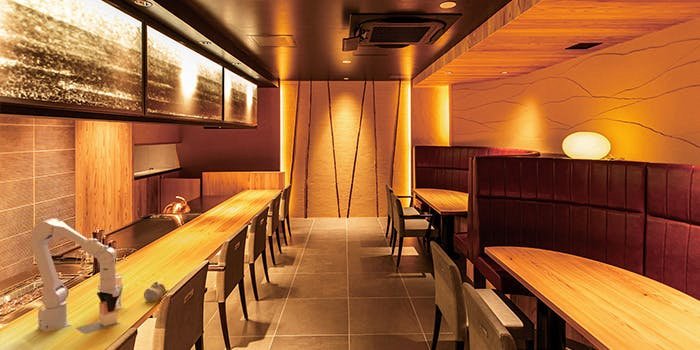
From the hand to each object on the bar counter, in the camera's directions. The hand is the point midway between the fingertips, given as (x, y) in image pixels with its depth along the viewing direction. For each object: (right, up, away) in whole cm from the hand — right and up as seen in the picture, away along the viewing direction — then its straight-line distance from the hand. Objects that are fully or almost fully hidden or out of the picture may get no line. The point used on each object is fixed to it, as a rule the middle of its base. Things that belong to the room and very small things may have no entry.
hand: (108, 309), depth 193 cm
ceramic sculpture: (+7, -4, +33) cm, 34 cm away
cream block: (0, -6, 0) cm, 6 cm away
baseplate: (-3, -6, -3) cm, 7 cm away
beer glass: (-7, -5, +19) cm, 21 cm away
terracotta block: (0, -1, 0) cm, 1 cm away
